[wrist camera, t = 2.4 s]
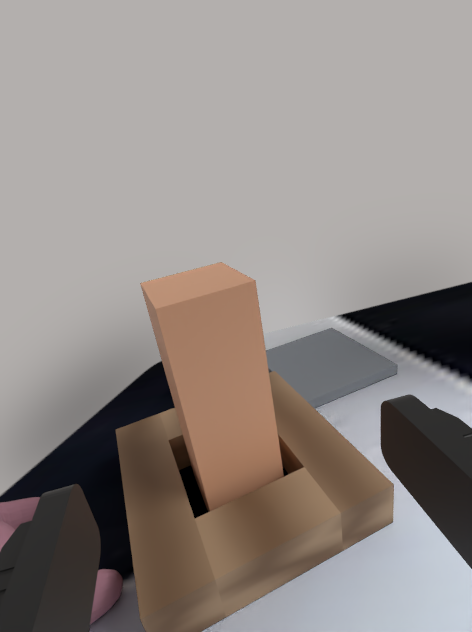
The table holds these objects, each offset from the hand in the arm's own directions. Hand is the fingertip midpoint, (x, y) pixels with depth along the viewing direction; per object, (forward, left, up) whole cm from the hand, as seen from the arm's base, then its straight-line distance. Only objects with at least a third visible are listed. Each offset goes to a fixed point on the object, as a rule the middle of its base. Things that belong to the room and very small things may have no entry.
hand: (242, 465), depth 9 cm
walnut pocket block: (-2, -11, -13) cm, 17 cm away
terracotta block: (-2, -11, -13) cm, 17 cm away
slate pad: (-15, -20, -13) cm, 28 cm away
